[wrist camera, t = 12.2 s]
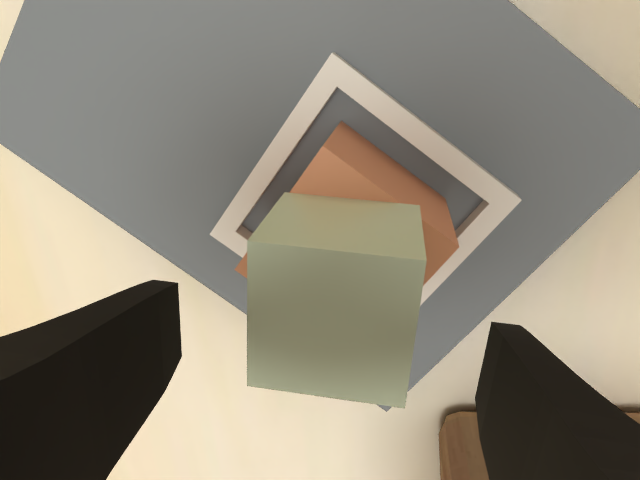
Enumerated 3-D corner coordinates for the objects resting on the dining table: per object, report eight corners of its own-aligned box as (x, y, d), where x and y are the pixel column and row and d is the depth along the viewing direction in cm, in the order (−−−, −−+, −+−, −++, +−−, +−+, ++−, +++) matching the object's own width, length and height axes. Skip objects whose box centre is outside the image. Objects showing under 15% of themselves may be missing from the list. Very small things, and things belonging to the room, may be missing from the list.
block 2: (419, 205, 15) (426, 260, 11) (403, 324, 16) (404, 408, 12) (284, 192, 15) (247, 240, 11) (281, 309, 16) (247, 386, 13)
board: (660, 132, 18) (686, 141, 17) (387, 397, 24) (386, 423, 23) (156, -283, 16) (128, -320, 14) (-7, 122, 22) (-40, 129, 20)
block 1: (445, 198, 19) (459, 247, 15) (367, 288, 21) (358, 355, 17) (341, 120, 19) (322, 145, 14) (270, 219, 21) (234, 269, 16)
